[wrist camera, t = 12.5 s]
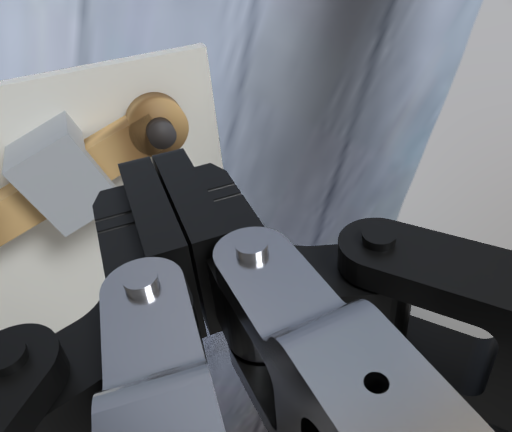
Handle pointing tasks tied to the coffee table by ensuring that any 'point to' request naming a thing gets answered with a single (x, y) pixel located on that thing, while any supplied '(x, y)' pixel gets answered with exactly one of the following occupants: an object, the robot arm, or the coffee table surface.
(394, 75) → the coffee table surface
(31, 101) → the board
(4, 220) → the oak link
